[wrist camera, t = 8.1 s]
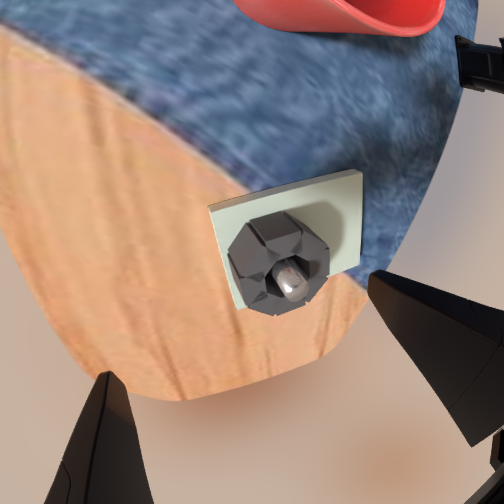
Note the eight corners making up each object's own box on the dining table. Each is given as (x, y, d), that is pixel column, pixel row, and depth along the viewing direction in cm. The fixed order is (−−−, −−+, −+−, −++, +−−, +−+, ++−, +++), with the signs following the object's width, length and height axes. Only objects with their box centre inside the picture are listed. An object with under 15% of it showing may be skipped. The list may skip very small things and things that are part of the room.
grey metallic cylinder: (272, 233, 22) (309, 277, 17) (275, 250, 23) (309, 296, 18) (253, 239, 21) (284, 286, 16) (256, 256, 22) (287, 304, 17)
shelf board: (353, 168, 21) (362, 172, 20) (351, 258, 26) (359, 264, 25) (207, 206, 19) (210, 212, 18) (233, 301, 24) (237, 310, 23)
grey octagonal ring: (306, 203, 20) (329, 221, 17) (310, 272, 23) (329, 295, 21) (220, 228, 19) (232, 252, 16) (238, 298, 22) (250, 325, 20)
